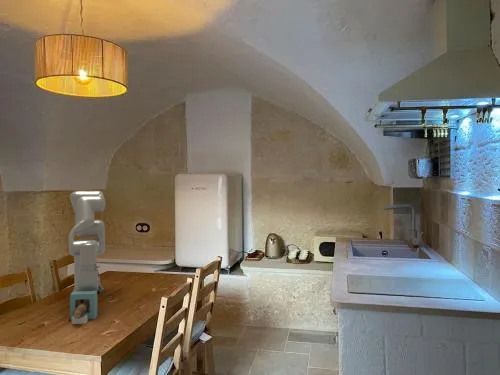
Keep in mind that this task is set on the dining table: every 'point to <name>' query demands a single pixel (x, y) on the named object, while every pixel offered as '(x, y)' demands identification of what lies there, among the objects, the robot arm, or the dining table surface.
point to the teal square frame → (84, 295)
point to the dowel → (81, 309)
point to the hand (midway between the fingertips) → (88, 304)
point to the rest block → (80, 320)
